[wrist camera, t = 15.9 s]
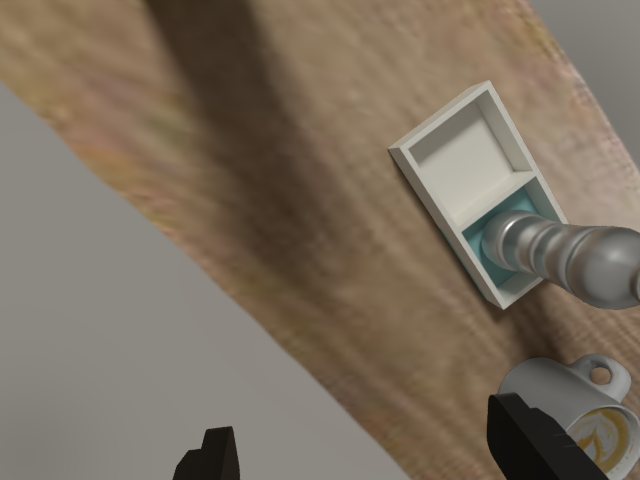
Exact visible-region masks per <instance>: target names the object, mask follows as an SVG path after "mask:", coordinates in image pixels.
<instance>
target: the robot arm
mask: <svg viewBox="0 0 640 480" xmlns="http://www.w3.org/2000/svg"><path fill="white" fill-rule="evenodd" d="M487 442H488V446H489V449H490V452H491V454H492V456H493V458H494V460H495V461H496V463H497V465H498V466H499V468H500V469H501V471H502V473H503V474H504V476H505V477H506V479H507V480H610V479H609V478H608V477H607V476H606V475H605V474H604V473H603V472H602V471H601V469H600V468H599V467H598V466H597V465H596V464H595V463H594V462H593V461H592V460H591V458H590V457H589V456H588V455H587V454H586V453H585V452H584V451H583V450H582V449H581V448H580V446H577V443H576V442H575V441H574V440H573V439H572V438H571V437H570V435H567V433H566V431H565V430H564V429H563V428H562V427H561V426H560V424H559V423H558V422H557V421H556V420H555V419H554V418H553V417H551V416H549V415H548V414H546V413H545V412H543V411H542V410H540V409H538V408H537V407H535V408H530V407H529V406H528V405H527V404H526V403H525V402H524V401H523V399H522V398H521V397H520V396H519V395H518V394H517V393H515V392H511V393H503V394H495V395H490V396H489V399H488V416H487ZM173 480H240V469H239V462H238V456H237V450H236V444H235V438H234V432H233V428H232V426H230V427H221V428H213V429H207V430H206V432H205V436H204V439H203V443H202V447H201V449H196V450H189V451H188V452H187V453H186V455H185V456H184V457H183V458H182V460H181V461H180V463H179V464H178V465H177V467H176V470H175V473H174V477H173Z"/></svg>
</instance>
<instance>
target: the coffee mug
mask: <svg viewBox="0 0 640 480" xmlns="http://www.w3.org/2000/svg"><path fill="white" fill-rule="evenodd" d="M597 367H603V368H606V369H608V370H609V372H610V374H611V379H610V381H609V382H608V383H607V384H605V385H597V384H594V383H592V381H591V379H590V373H591V371H592V370H593V369H594V368H597ZM630 385H631V378H630V375H629V373H628V371H627V370H626V369H625V368H624V367H623V366H622V365H621V364H619V363H618V362H616V361H615V360H613V359H611V358H610V357H607V356H605V355H602V354H588V355H585V356H583V357H581V358H580V359H578V360H577V361H576V362H574V363H573V364H571V365H563V364H560V363H559V362H557V361H555V360H553V359H550V358H546V357H536V358H531V359H528V360H525V361H523V362H521V363H519V364H518V365H516V366H515V367H514V368H513V369H512V370H510V372H509V373H508V374H507V375H506V377H505V378H504V379H503V381H502V383H501V385H500V388H499V391H498V394H503V393H511V392H515V393H517V394H518V395H519V396H520V397H521V398H522V399H523V401H524V402H525V403H526V404H527V405H528V406H529V407H530V408H535V407H537V408H538V409H540V410H542V411H543V412H545V413H546V414H548V415H549V416H551V417H553V418H554V419H555V420H556V421H557V422H558V423H559V424H560V426H561V427H562V428H563V429H564V430H565V431H566V433H567V435H570V437H571V438H572V439H573V440H574V441H575V442H576V443H577V446H580V448H581V449H582V450H583V451H584V452H585V453H586V454H587V455H588V456H589V457H590V458H591V460H592V461H593V462H594V463H595V464H596V465H597V466H598V467H599V468H600V469H601V471H602V472H603V473H604V474H605V475H606V476H607V477H608V478H609V479H610V480H622V479H623V478H624V477H626V475H627V474H628V473H629V472H630V471H631V470H632V469H633V467H634V466H635V464H636V462H637V461H638V459H639V457H640V421H639V419H638V417H637V416H636V415H635V414H634V413H633V412H632V411H631V410H630V409H628V408H627V407H625V406H624V405H622V404H621V401H622V400H623V398H624V397H625V395H626V394H627V393H628V391H629V389H630Z"/></svg>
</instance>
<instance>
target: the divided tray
mask: <svg viewBox="0 0 640 480" xmlns="http://www.w3.org/2000/svg"><path fill="white" fill-rule="evenodd" d="M388 150H389V152H390V153H391V155H392V157H393V158H394V160H395V161H396V163H397V164H398V166H399V167H400V169H401V170H402V172H403V173H404V175H405V177H406V178H407V180H408V181H409V183H410V184H411V186H412V187H413V189H414V190H415V192H416V193H417V195H418V197H419V198H420V200H421V201H422V203H423V204H424V206H425V207H426V209H427V210H428V212H429V213H430V215H431V217H432V218H433V220H434V221H435V223H436V224H437V226H438V227H439V229H440V230H441V232H442V233H443V235H444V236H445V238H446V240H447V241H448V243H449V244H450V246H451V247H452V249H453V250H454V252H455V253H456V255H457V256H458V258H459V260H460V261H461V263H462V264H463V266H464V267H465V269H466V270H467V272H468V273H469V275H470V276H471V278H472V280H473V281H474V283H475V284H476V286H477V287H478V289H479V290H480V292H481V293H482V295H483V296H484V298H485V299H486V300H488V301H489V302H491V303H493V304H495V305H496V306H498V307H500V308H501V309H503V310H504V309H505V308H507V307H508V306H509V305H511V304H512V303H513V302H515V301H516V300H517V299H519V298H520V297H521V296H523V295H524V294H525V293H527V292H528V291H529V290H530V289H532V288H533V287H534V286H536V285H537V284H538V283H540V282H541V281H542V280H544V279H543V278H541V277H539V276H535V275H531V274H528V273H524V272H515V271H510V270H505V269H503V268H500V267H498V266H497V265H495V264H494V263H493V262H491V261H490V260H489V259H488V258H487V257H486V255H485V254H484V252H483V249H482V245H481V237H482V233H483V230H484V228H485V226H486V224H487V223H488V221H489V220H490V219H491V218H492V217H494V216H495V215H497V214H498V213H501V212H503V211H507V210H520V209H521V210H527V211H530V212H532V213H535V214H537V215H540V216H542V217H543V218H546V219H549V220H552V221H555V222H559V223H562V224H569V223H568V221H567V220H566V218H565V216H564V214H563V212H562V210H561V209H560V207H559V205H558V203H557V201H556V200H555V198H554V196H553V194H552V192H551V190H550V189H549V187H548V185H547V183H546V181H545V180H544V178H543V176H542V174H541V172H540V171H539V169H538V167H537V165H536V163H535V161H534V160H533V158H532V156H531V154H530V152H529V151H528V149H527V147H526V145H525V143H524V142H523V140H522V138H521V136H520V134H519V132H518V131H517V129H516V127H515V125H514V123H513V122H512V120H511V118H510V116H509V114H508V113H507V111H506V109H505V107H504V105H503V103H502V102H501V100H500V98H499V96H498V94H497V93H496V91H495V89H494V87H493V85H492V84H491V82H490V80H488V81H485V82H482V83H480V84H477V85H474V86H471V87H469V88H468V89H467V90H465V91H464V92H463V93H461V94H460V95H459V96H457V97H456V98H455V99H453V100H452V101H451V102H449V103H448V104H447V105H445V106H444V107H443V108H441V109H440V110H439V111H437V112H436V113H435V114H433V115H432V116H431V117H429V118H428V119H427V120H425V121H424V122H423V123H421V124H420V125H419V126H417V127H416V128H415V129H413V130H412V131H411V132H409V133H408V134H407V135H405V136H404V137H403V138H401V139H400V140H398V141H397V142H396V143H394V144H393V145H392V146H390V147H389V148H388Z"/></svg>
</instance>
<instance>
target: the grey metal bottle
mask: <svg viewBox="0 0 640 480" xmlns="http://www.w3.org/2000/svg"><path fill="white" fill-rule="evenodd" d="M481 245H482V249H483V252H484V254H485V255H486V257H487V258H488V259H489V260H490V261H491V262H493V263H494V264H495V265H497V266H498V267H500V268H503V269H505V270H510V271H515V272H524V273H528V274H531V275H535V276H539V277H541V278H543V279H545V280H548V281H549V282H551V283H554V284H556V285H558V286H560V287H561V288H563V289H565V290H566V291H568V292H569V293H571V294H572V295H574V296H576V297H577V298H579V299H580V300H582V301H583V302H585V303H587V304H589V305H591V306H594V307H597V308H602V309H612V310H620V309H626V308H631V307H635V306H638V305H640V233H639V232H637V231H635V230H632V229H630V228H624V227H614V226H578V225H571V224H562V223H559V222H555V221H552V220H549V219H546V218H543V217H542V216H540V215H537V214H535V213H532V212H530V211H527V210H521V209H520V210H507V211H503V212H501V213H498V214H497V215H495V216H494V217H492V218H491V219H490V220H489V221H488V223H487V224H486V226H485V228H484V230H483V233H482V237H481Z"/></svg>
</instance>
